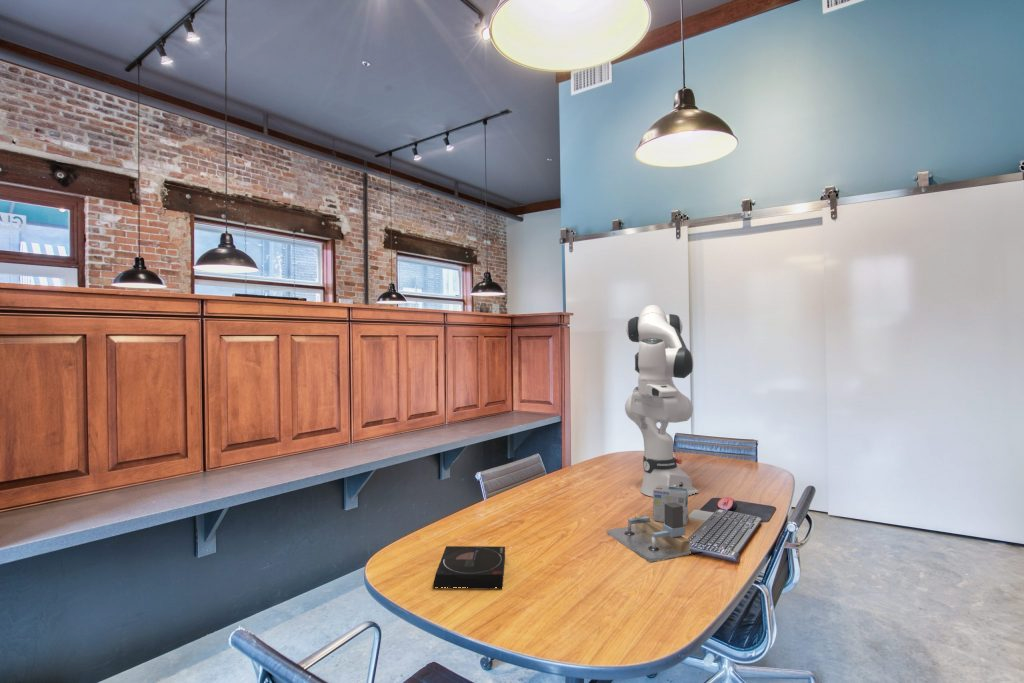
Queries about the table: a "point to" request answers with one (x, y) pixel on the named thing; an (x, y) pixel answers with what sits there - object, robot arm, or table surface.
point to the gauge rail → (652, 527)
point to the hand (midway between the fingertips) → (652, 431)
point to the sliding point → (671, 523)
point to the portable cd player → (471, 567)
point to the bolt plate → (644, 544)
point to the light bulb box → (669, 501)
